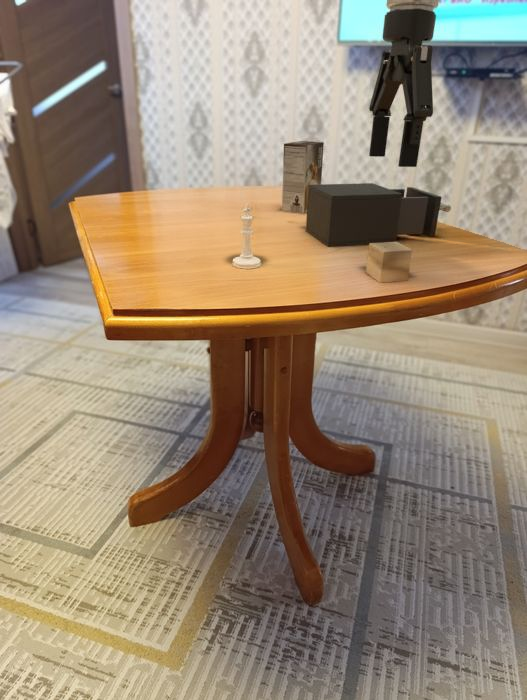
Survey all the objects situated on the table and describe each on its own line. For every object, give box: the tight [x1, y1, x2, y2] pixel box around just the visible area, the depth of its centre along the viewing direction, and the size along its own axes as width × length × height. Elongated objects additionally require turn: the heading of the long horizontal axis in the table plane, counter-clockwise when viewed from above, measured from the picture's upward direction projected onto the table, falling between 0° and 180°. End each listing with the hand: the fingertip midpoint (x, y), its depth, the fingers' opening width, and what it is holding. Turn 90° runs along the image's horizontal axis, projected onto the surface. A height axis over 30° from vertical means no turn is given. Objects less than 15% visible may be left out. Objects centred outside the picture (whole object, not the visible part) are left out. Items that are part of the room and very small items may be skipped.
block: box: [365, 241, 413, 283], centre depth 82 cm, size 5×5×5 cm
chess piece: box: [231, 204, 262, 270], centre depth 85 cm, size 5×5×10 cm
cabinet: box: [305, 182, 402, 248], centre depth 103 cm, size 15×13×10 cm
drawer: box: [389, 186, 452, 237], centre depth 106 cm, size 18×11×8 cm, turn 106°
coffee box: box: [281, 140, 325, 214], centre depth 123 cm, size 9×6×16 cm
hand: (391, 161), depth 86 cm, fingers open, 13 cm apart
